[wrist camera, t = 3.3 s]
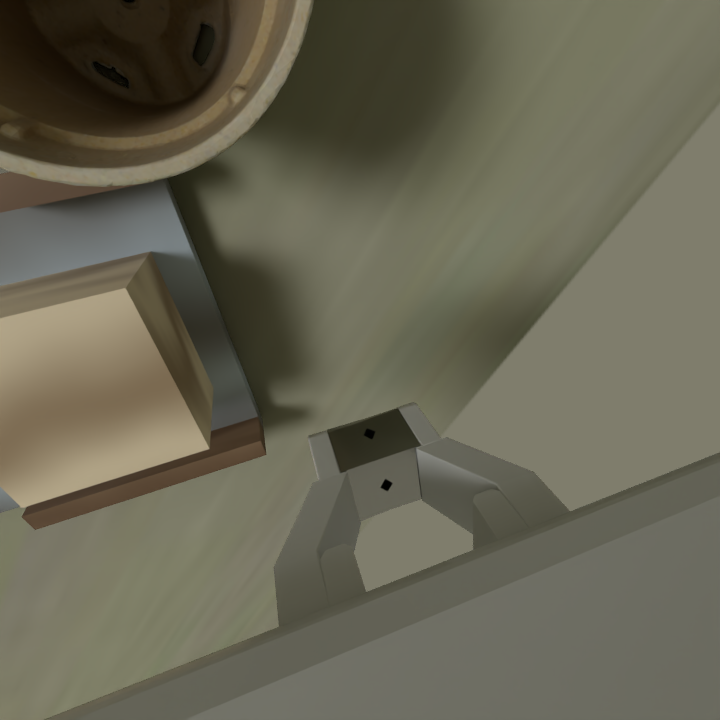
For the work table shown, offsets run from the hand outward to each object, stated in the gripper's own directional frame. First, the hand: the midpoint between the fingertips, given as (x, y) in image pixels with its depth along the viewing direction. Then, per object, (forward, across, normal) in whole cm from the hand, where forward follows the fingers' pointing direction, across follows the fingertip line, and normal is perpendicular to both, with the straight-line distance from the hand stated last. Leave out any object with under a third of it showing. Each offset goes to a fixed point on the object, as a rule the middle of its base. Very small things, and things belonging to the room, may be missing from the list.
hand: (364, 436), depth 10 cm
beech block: (+10, +9, -1) cm, 13 cm away
